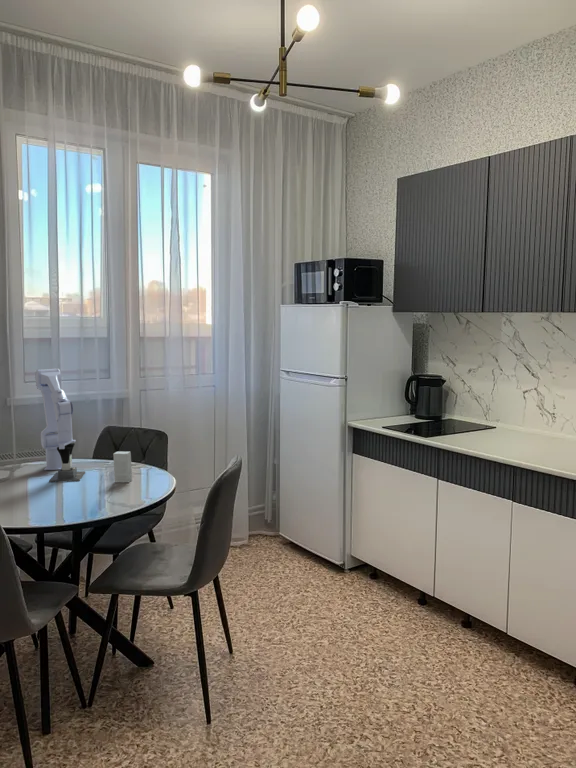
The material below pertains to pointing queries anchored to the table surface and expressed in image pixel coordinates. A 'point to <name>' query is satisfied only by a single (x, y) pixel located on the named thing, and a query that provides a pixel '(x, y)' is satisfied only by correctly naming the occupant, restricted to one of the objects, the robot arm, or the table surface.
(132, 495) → the table surface
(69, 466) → the column
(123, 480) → the skincare box
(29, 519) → the table surface
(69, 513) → the table surface
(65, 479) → the stand base
